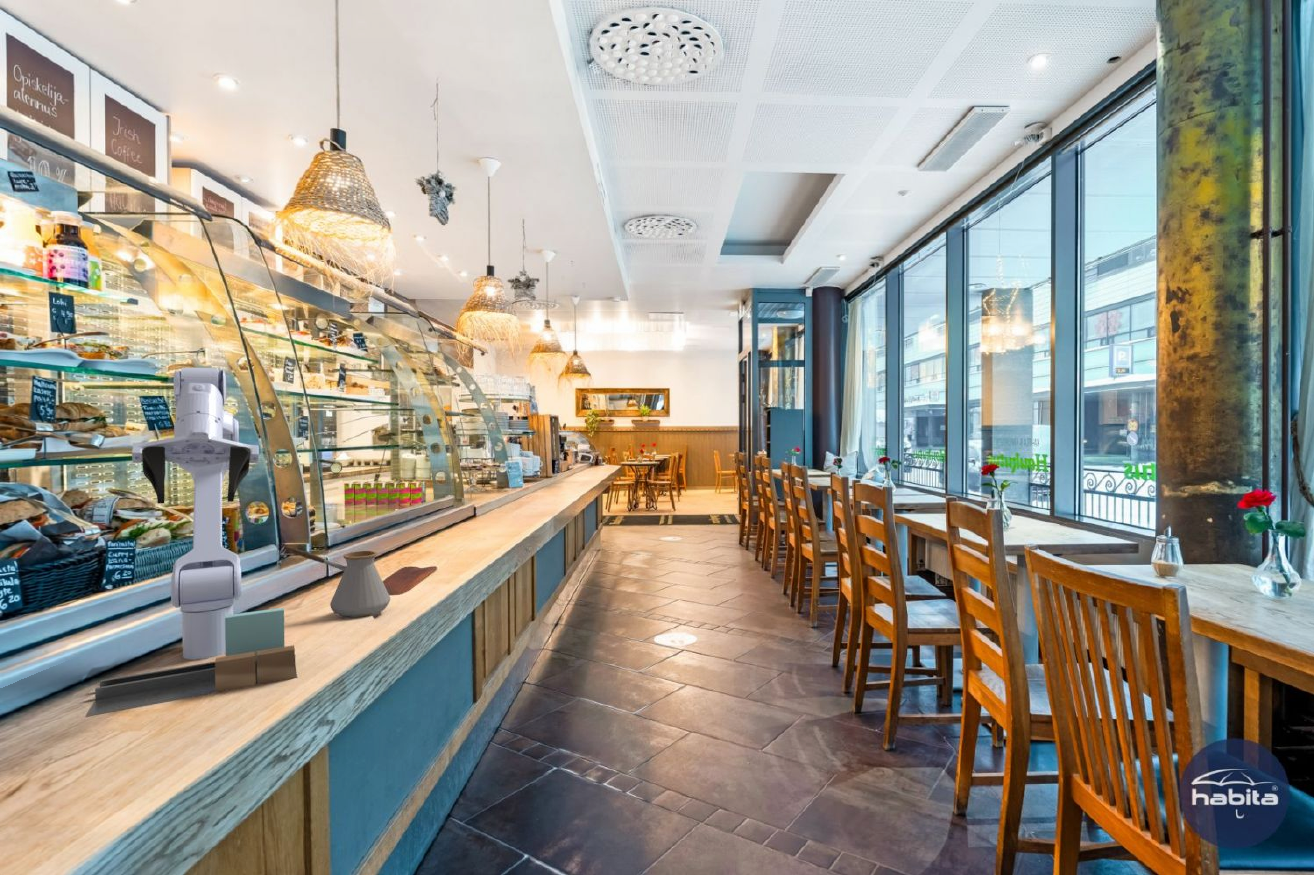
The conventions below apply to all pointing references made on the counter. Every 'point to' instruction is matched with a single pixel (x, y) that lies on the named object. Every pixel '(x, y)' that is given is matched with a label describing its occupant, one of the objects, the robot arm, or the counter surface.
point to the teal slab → (254, 631)
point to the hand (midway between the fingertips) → (196, 497)
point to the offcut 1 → (235, 671)
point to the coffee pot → (355, 584)
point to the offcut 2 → (275, 664)
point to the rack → (156, 688)
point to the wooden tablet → (406, 579)
